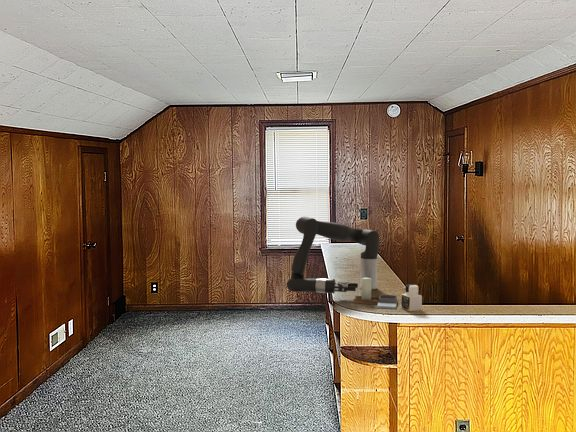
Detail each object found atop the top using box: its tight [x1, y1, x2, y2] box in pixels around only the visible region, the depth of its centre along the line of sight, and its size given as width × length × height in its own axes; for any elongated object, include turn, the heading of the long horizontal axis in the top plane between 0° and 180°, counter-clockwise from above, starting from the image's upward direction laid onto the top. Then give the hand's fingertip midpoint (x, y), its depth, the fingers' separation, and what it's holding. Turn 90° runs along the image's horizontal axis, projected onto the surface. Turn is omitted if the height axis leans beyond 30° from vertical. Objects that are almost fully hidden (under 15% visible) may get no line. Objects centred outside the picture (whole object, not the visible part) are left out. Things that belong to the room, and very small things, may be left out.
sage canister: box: [360, 278, 372, 300], centre depth 304 cm, size 5×5×12 cm
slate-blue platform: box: [376, 301, 398, 310], centre depth 294 cm, size 8×9×1 cm
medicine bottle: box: [401, 283, 423, 312], centre depth 289 cm, size 7×7×12 cm
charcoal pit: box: [378, 294, 398, 304], centre depth 302 cm, size 8×8×3 cm
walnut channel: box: [352, 295, 380, 305], centre depth 305 cm, size 9×12×2 cm
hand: (356, 287), depth 306 cm, fingers open, 8 cm apart
